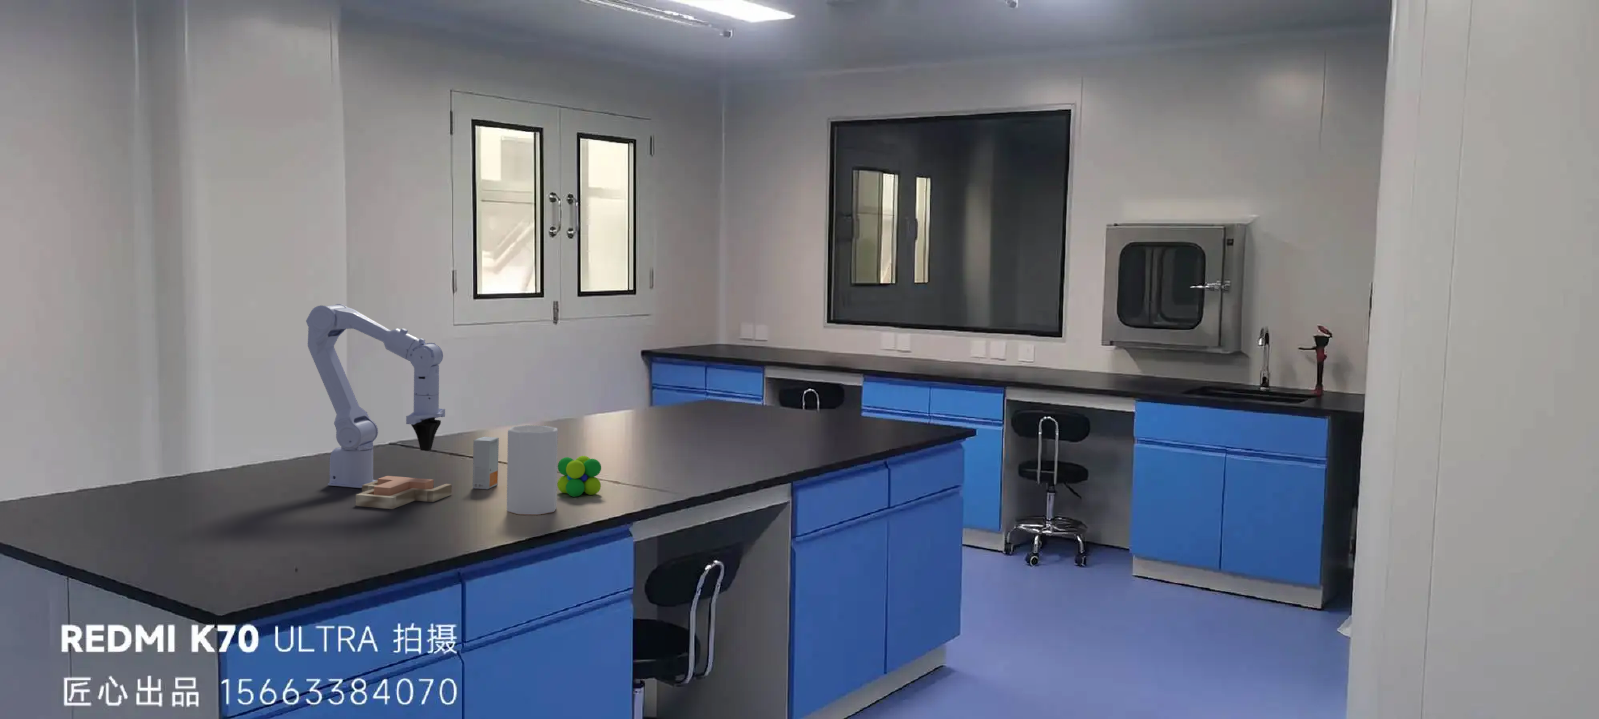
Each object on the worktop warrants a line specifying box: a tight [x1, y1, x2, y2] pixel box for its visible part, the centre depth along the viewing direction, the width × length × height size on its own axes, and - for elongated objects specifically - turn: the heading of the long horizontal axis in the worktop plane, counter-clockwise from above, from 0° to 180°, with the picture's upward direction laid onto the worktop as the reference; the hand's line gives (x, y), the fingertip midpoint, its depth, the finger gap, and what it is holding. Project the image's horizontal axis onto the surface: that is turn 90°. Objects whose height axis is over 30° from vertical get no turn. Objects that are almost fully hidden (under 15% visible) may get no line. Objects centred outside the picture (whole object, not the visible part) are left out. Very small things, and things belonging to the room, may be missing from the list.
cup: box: [506, 424, 559, 516], centre depth 256 cm, size 11×11×18 cm
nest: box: [355, 479, 453, 510], centre depth 263 cm, size 18×18×2 cm
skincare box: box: [472, 436, 500, 490], centre depth 279 cm, size 6×4×12 cm
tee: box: [374, 475, 435, 496], centre depth 263 cm, size 12×12×4 cm
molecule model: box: [557, 455, 602, 498], centre depth 276 cm, size 9×9×9 cm
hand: (425, 450), depth 275 cm, fingers closed
